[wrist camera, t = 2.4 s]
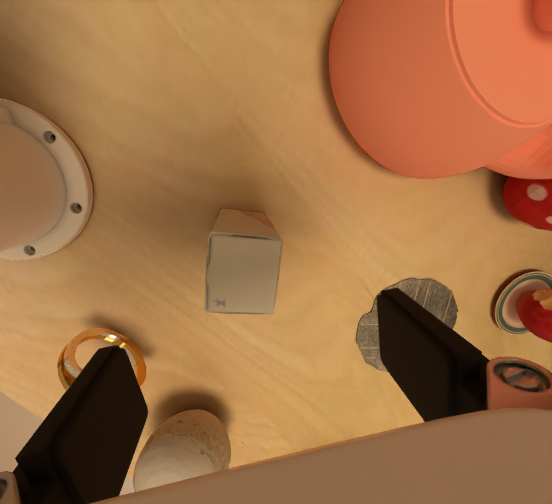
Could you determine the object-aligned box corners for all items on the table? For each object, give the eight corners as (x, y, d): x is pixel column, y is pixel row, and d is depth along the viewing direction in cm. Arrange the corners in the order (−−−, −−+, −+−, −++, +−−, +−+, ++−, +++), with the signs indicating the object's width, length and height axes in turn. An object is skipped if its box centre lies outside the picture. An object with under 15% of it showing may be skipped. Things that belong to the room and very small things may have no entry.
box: (260, 263, 28) (273, 321, 18) (216, 259, 28) (202, 318, 17) (266, 209, 27) (284, 238, 16) (219, 205, 26) (207, 231, 16)
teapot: (559, 124, 28) (831, 90, 15) (425, 244, 30) (566, 303, 17) (420, -153, 21) (718, -671, 8) (255, 29, 22) (277, -150, 10)
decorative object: (240, 436, 34) (241, 540, 25) (168, 459, 34) (141, 573, 24) (218, 378, 32) (210, 470, 22) (139, 402, 31) (96, 506, 22)
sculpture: (439, 258, 31) (500, 323, 27) (421, 288, 39) (465, 342, 35) (343, 312, 31) (390, 385, 26) (343, 331, 38) (380, 391, 34)
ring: (161, 348, 30) (135, 411, 22) (140, 368, 30) (107, 437, 22) (104, 306, 28) (54, 359, 20) (82, 327, 28) (24, 388, 20)
